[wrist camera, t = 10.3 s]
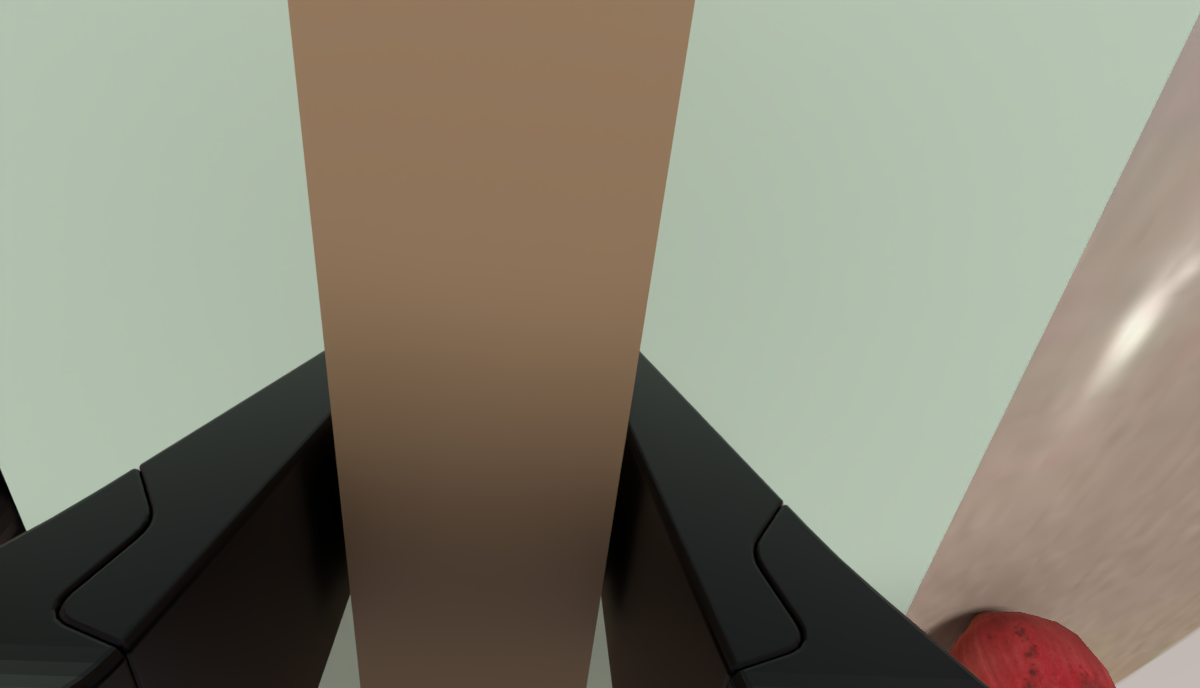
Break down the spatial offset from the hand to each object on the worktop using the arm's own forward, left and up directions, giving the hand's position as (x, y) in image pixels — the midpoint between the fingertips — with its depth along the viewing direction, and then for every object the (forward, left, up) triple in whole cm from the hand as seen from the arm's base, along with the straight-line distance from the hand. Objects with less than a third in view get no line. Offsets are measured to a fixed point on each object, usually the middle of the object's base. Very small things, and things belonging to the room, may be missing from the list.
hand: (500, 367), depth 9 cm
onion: (-20, -20, -13) cm, 31 cm away
